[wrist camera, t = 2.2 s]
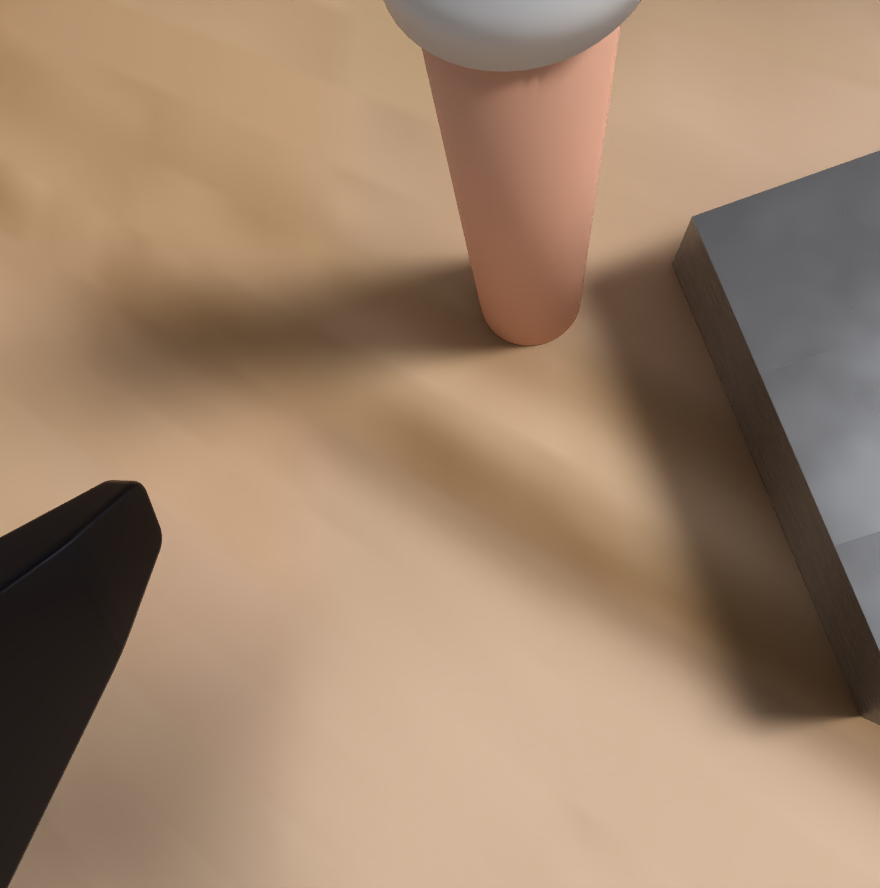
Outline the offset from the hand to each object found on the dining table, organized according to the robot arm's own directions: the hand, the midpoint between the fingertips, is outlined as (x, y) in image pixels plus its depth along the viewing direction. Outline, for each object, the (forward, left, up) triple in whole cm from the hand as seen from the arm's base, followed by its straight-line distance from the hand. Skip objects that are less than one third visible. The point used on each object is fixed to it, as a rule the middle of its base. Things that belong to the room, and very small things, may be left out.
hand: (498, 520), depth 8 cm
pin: (+3, +8, -13) cm, 15 cm away
